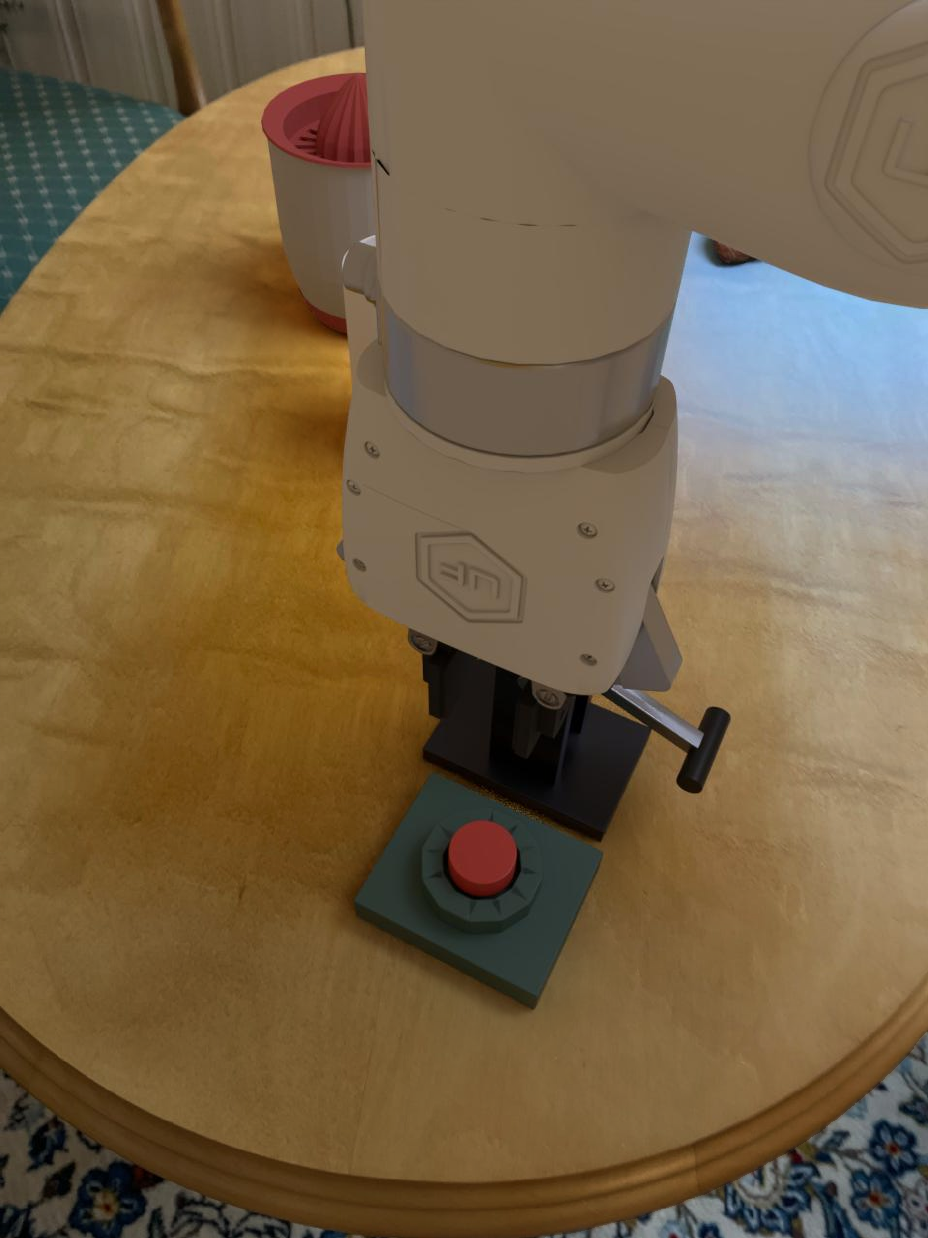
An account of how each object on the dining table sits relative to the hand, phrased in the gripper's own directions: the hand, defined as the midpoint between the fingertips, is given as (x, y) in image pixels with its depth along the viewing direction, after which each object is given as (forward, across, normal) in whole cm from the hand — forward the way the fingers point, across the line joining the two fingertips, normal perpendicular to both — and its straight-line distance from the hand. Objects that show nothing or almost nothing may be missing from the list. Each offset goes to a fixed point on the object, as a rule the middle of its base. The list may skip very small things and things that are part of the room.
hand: (494, 708), depth 40 cm
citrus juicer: (+19, -34, +47) cm, 61 cm away
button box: (+19, 0, 0) cm, 19 cm away
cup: (+19, -22, +31) cm, 43 cm away
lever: (+11, +3, +10) cm, 15 cm away
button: (+16, 0, 0) cm, 16 cm away
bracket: (+19, -1, +10) cm, 22 cm away
